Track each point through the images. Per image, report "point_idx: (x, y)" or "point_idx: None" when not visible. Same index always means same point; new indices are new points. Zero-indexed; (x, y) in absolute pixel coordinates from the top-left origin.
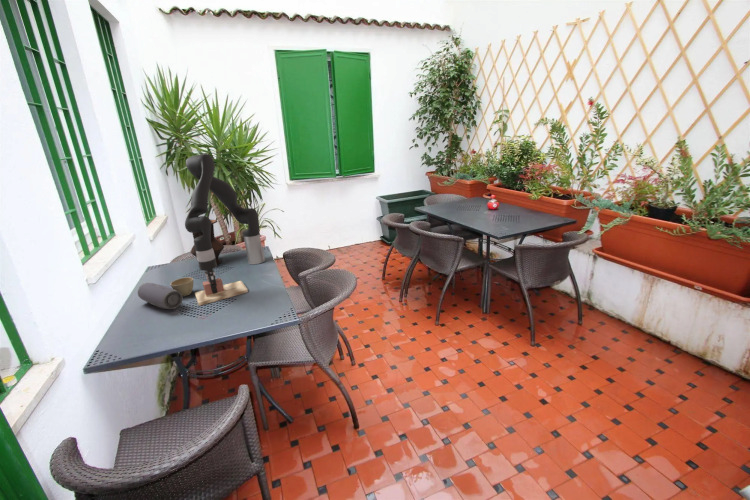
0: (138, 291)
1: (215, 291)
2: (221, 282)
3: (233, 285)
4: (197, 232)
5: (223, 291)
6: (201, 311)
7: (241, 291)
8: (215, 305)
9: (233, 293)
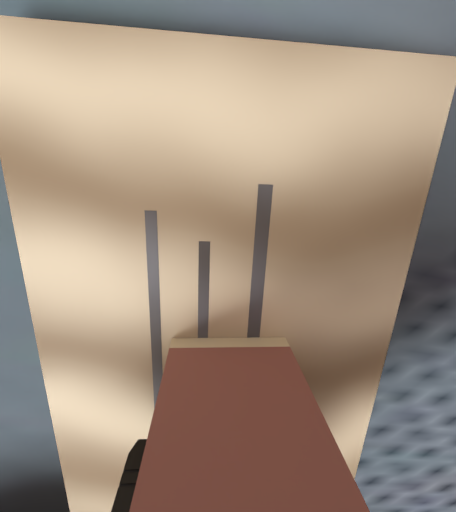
0: None
1: None
2: (353, 496)
3: (143, 198)
4: None
5: (287, 351)
6: (434, 486)
7: (432, 158)
8: (428, 410)
9: (406, 260)
